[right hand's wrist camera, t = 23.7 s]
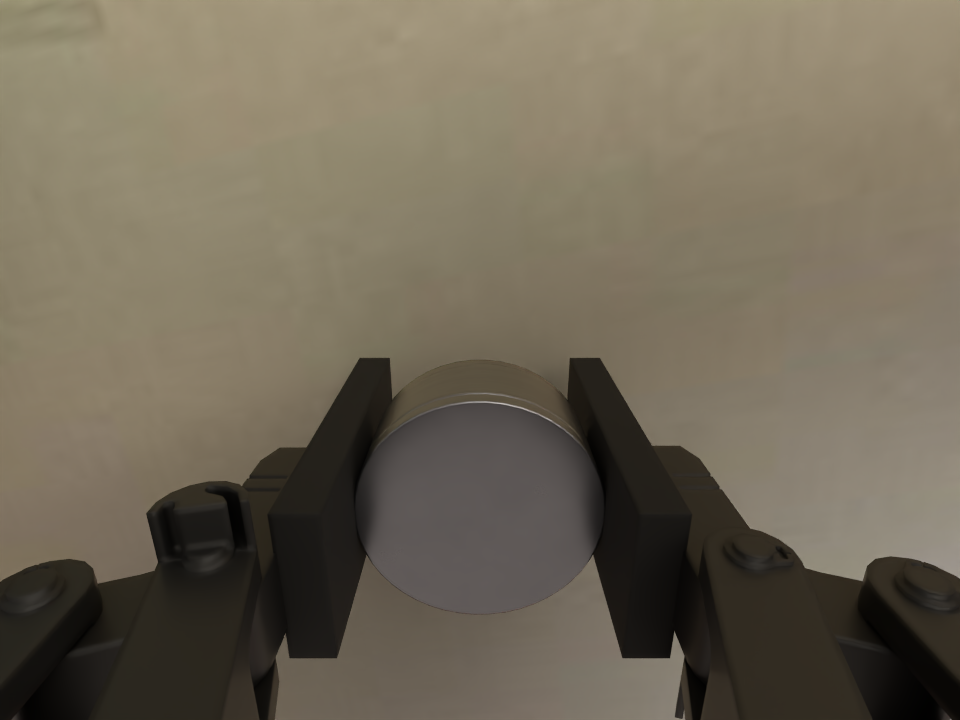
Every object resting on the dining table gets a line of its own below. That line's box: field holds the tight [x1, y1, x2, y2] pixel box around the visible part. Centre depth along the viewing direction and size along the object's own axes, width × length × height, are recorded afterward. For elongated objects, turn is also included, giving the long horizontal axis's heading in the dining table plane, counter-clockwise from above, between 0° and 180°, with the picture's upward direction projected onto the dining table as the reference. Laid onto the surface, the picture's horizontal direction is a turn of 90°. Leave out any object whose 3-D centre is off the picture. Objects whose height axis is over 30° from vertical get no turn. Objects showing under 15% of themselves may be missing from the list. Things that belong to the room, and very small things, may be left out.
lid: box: [354, 360, 605, 614], centre depth 11 cm, size 5×5×2 cm
